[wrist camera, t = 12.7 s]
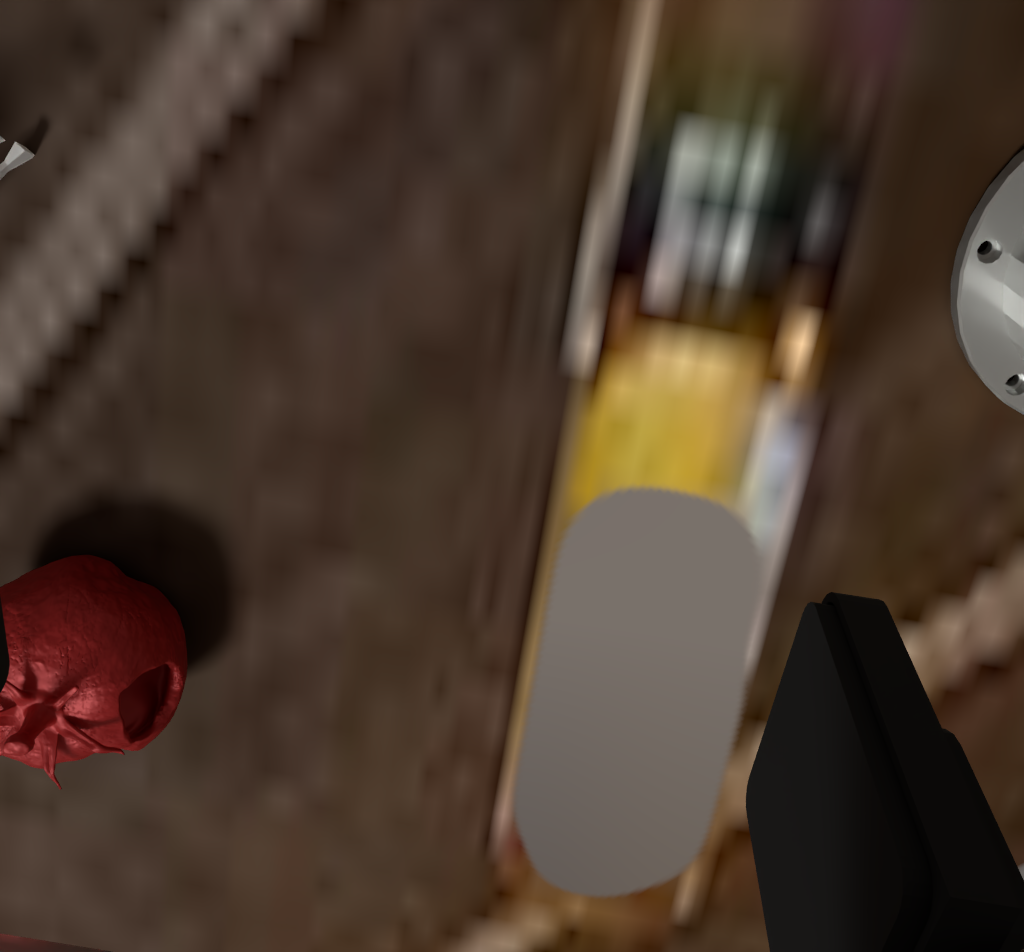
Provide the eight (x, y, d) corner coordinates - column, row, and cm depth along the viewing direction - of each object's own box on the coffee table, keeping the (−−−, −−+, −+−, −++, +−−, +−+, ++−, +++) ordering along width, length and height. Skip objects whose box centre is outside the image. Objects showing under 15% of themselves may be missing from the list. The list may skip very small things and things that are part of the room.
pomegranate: (-29, 606, 48) (-161, 737, 40) (91, 496, 44) (-26, 615, 36) (125, 730, 51) (32, 875, 43) (250, 636, 47) (175, 775, 39)
